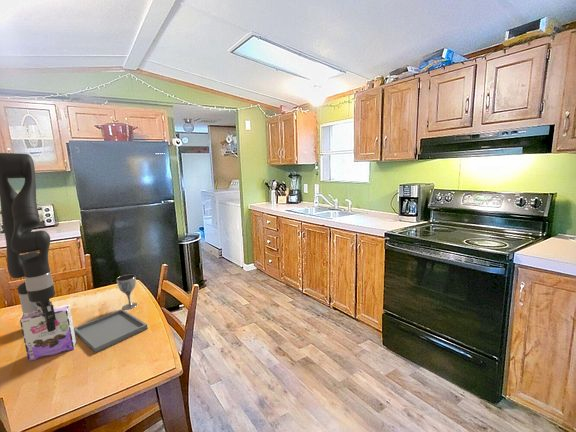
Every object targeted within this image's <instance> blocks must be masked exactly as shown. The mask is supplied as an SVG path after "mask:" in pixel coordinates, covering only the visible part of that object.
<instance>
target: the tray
mask: <svg viewBox="0 0 576 432" xmlns="http://www.w3.org/2000/svg"><path fill="white" fill-rule="evenodd" d="M146 330H148V324H147V323H146V322H144V321H142V320H141V319H139V318H138V317H136V316H134V315H132V314H131V313H130V312H128V311H126V310H124V309H122V308H121V309H119V310H116V311H113V312H112V313H111V312H110V313H107V314H105V315H104V316H101V317H98V318H96V319H93V320H91V321H88V322H85V323H82V324H81V325H78V326H75V327H74V333H75V336H77V337H78V338H79V339H80V340H81V341H83V343H84V344H86V346H88V347H89V348H90V349H91V350H92V351H93V353H95V354H97V353H99V352H101V351H104V350H106V349H108V348H110V347H112V346H114V345H116V344H119V343H120V342H123V341H125V340H127V339H129V338H131V337H134V336H135V335H137V334H140V333H142V332H143V331H144V332H145V331H146Z"/></svg>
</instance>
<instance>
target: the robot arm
mask: <svg viewBox="0 0 576 432" xmlns="http://www.w3.org/2000/svg"><path fill="white" fill-rule="evenodd" d="M9 179H24V184H23V185H22V188H21V189H20V190H19V192H16V190H15V189H14V188H13V187H12V185H11V183H10V182H9ZM36 185H37V183H36V170H35V163H34V160H33V158H32V156H31V155H30V154H29V153H28V154H27V153H16V152H12V153H11V152H0V210H1V211H0V212H1V219H2V225H3V231H4V238H5V246H6V263H7V264H6V265H7V271H8V274H9V276H10V277H11V278H12V279H21V278H24V282H22V283H21V284H20V285H18V287H17V293H18V297H19V301H20V307H21V312H22V316H23V315H24V313H29V312H34V311H40V313H41V316H42V317H43V318H44V319H45V322H46V325H47V330H48V332H51V331H54V330H55V329H56V328H55V323H54V320H56V318H55V313H54V304H53V302H52V301H50V299H52V298H53V297H55V295H56V289H55V284H54V281H53V280H54V279H53V276H52V273H51V268H50V265H49V251H50V250H49V249H50V244H51V236H50V234H49V233H48V232H47V231H45V230H36V231H35V230H34V231H33V229H35V228H37V227H38V226H39V225H40V223H41V219H40V213H39V209H38V203H37V186H36ZM44 313H45V314H44ZM50 315H51V317H52V318H49V319H48V316H50Z"/></svg>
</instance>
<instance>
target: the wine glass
mask: <svg viewBox="0 0 576 432" xmlns="http://www.w3.org/2000/svg"><path fill="white" fill-rule="evenodd" d="M136 281H137V280H136V275H135V274H130V273H129V274H124V275H120V276H119V277H117V278H116V284H117V287H118V290H119V291H120V292H122V293H123V294H125V295H126V297H127V299H128V300H127V301H128V303H127V304H124V305H123V306H122V307H121V309H123V310H125V311H126V310H133V309H135V308H137V307H138V306H137V303H138V302H131V294H132V292H133V291H134V290H135V288H136V284H137V282H136ZM136 306H137V307H136ZM134 307H135V308H134ZM132 308H133V309H132Z"/></svg>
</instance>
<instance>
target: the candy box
mask: <svg viewBox="0 0 576 432" xmlns="http://www.w3.org/2000/svg"><path fill="white" fill-rule="evenodd" d="M53 308H54V313H55V318H56V320H54V323H55V328H56V329H55V330H54V331H51V332H48V330H47V325H46V322H45V319H44V318H43V317H42V316H41V313H40V311H34V312H29V313H24V315H23V314H22V316H21V318H20V319H19V323H20V327H21V333H22V337H23V342H24V346H25V352H26V355H27V356H26V357H27V360H28V362H31V361H35V360H38V359H42V358H46V357H50V356H54V355H58V354H62V353H65V352H69V351H73V350H75V348H76V345H77V338H76V334H75V333H74V328H75V327H74V322H73V317H72V313H71V312H72V311H71V310H72V309H71V305H70V303H69V304H64V305H58V306H55V307H53ZM44 314H45V313H44ZM49 318H52V317H51V315H50V316H48V319H49Z"/></svg>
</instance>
